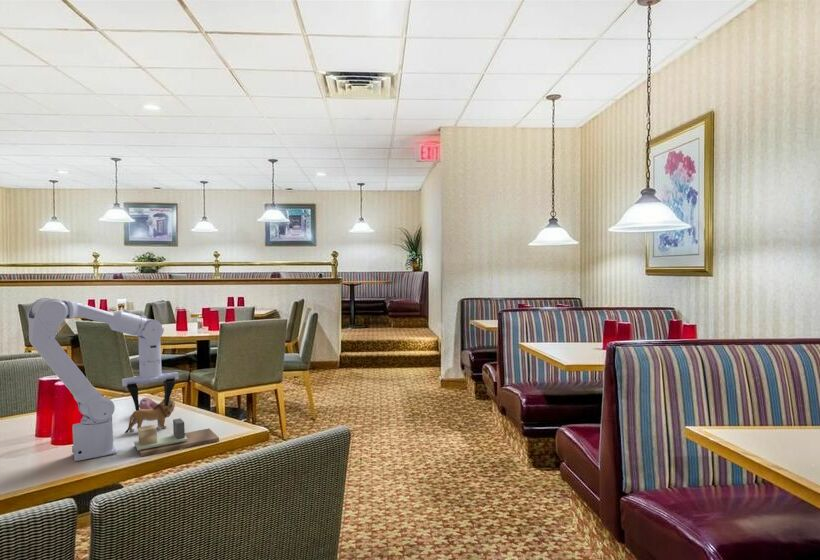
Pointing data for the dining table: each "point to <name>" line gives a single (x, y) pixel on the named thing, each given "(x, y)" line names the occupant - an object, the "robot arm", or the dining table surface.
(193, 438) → the board
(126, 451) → the dining table surface
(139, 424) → the lion figurine
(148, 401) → the pink purple rounded lump
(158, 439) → the grey holder stand
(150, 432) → the cube
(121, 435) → the dining table surface
